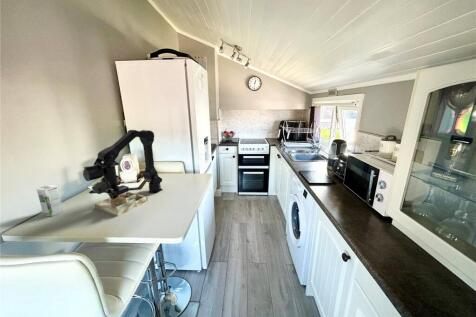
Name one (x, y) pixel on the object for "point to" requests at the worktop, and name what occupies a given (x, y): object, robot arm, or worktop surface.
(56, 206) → the syrup box
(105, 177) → the robot arm
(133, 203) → the trap board
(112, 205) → the walnut block
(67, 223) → the worktop surface
